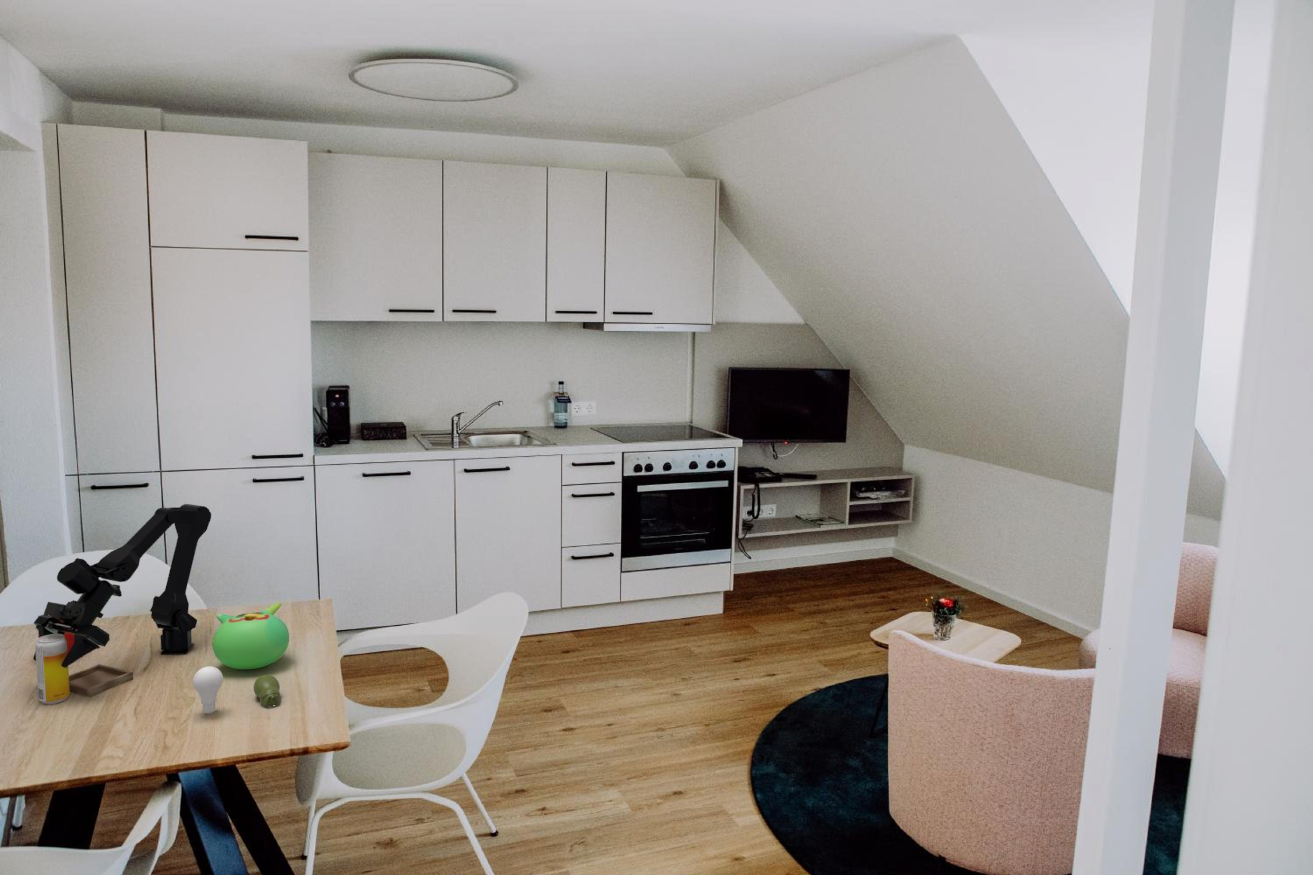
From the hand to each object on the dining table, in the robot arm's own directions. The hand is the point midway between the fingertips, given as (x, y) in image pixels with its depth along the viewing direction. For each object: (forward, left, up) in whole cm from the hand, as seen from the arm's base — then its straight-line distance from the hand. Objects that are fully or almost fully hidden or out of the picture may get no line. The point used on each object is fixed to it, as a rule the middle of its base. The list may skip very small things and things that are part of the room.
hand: (48, 663), depth 212 cm
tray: (-5, -9, -9) cm, 14 cm away
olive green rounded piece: (-49, +4, -9) cm, 50 cm away
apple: (+10, -27, -9) cm, 30 cm away
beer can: (0, -1, -9) cm, 9 cm away
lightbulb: (-37, +10, -9) cm, 40 cm away
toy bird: (-39, -18, -9) cm, 44 cm away
